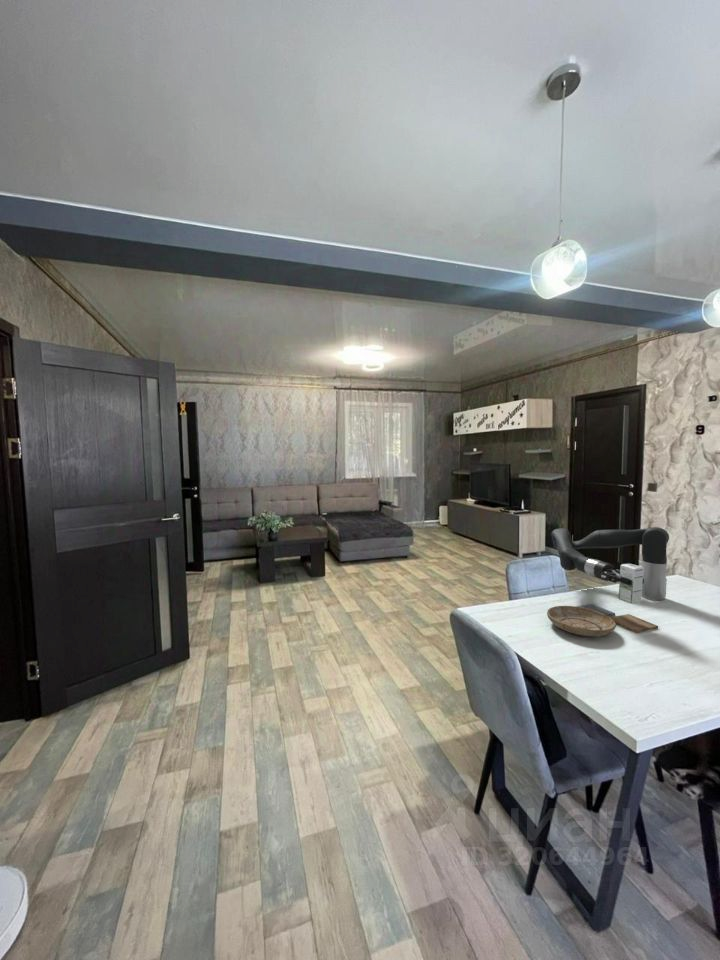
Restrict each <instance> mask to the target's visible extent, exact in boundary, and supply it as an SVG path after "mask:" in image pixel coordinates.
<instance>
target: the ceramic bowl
mask: <svg viewBox="0 0 720 960" xmlns="http://www.w3.org/2000/svg"><path fill="white" fill-rule="evenodd" d="M546 615H547V618H548V619H549V621H550V622H551V623H552V624H553V625H555V626H556V627H558V628H559V629H561V630H563V631H565V632H568V633H571V634H574V635H577V636H583V637H601V636H605V635H609V634H611V633H612V632H614V631H615V630H616V628H617V624H616V623H615V621H614V620H613V619H612V618H610V617H611V616H607V615H604V614H602V613H600V612H597V611H594V610H590V609H587V608H582V607H575V606H574V605H556V606H551V607H550V608H548V609H547V611H546Z"/></svg>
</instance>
